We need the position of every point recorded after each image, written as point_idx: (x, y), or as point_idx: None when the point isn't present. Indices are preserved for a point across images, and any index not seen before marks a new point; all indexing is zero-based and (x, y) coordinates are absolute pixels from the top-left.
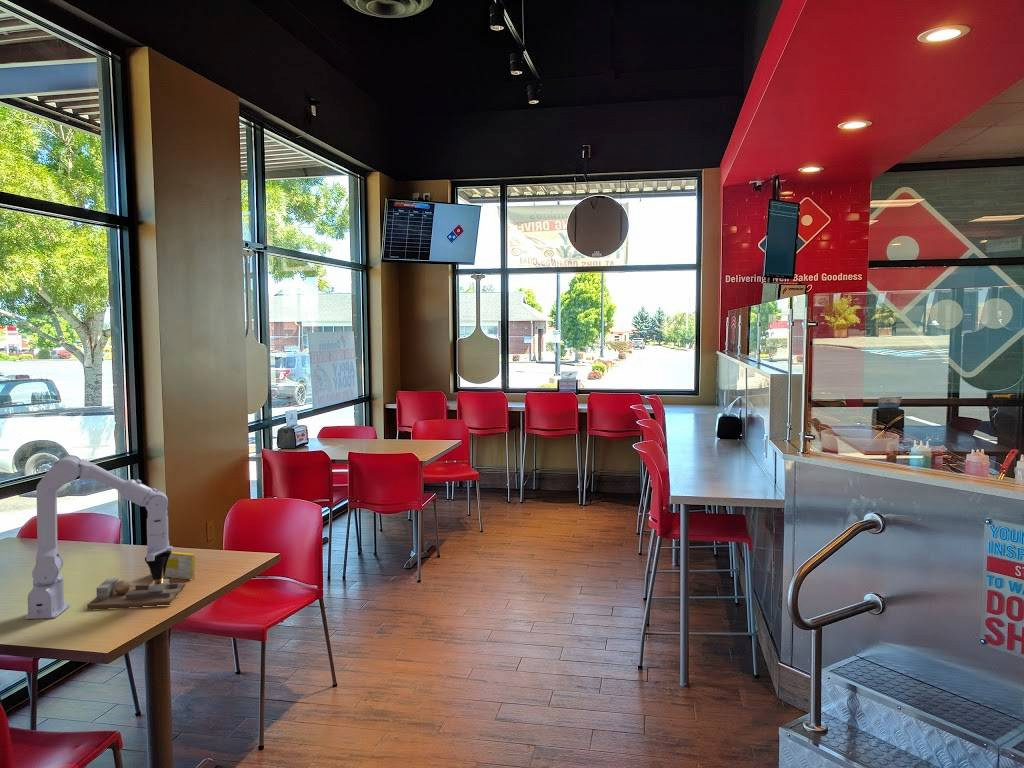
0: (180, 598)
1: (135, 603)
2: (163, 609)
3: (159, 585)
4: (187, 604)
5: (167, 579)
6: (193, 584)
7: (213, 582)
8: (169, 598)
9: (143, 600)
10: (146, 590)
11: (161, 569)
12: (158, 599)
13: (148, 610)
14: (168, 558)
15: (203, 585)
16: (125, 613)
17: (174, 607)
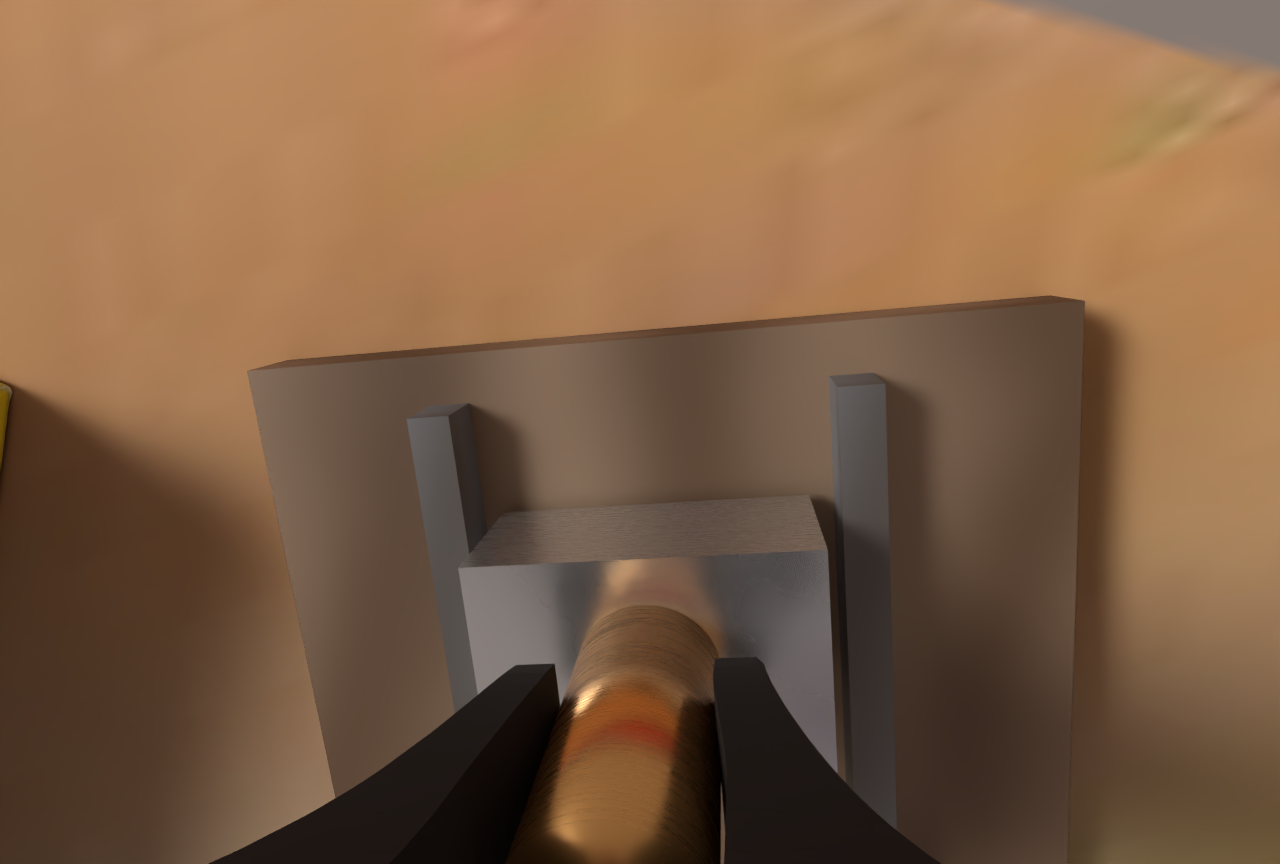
0: (714, 263)
1: (1065, 748)
2: (1158, 336)
3: (818, 607)
4: (988, 48)
5: (498, 583)
6: (156, 298)
7: (41, 24)
8: (938, 349)
9: (982, 685)
10: None
11: (826, 766)
12: (966, 497)
13: (1162, 525)
14: (251, 855)
15: (178, 132)
16: (1225, 760)
17: (1096, 204)
